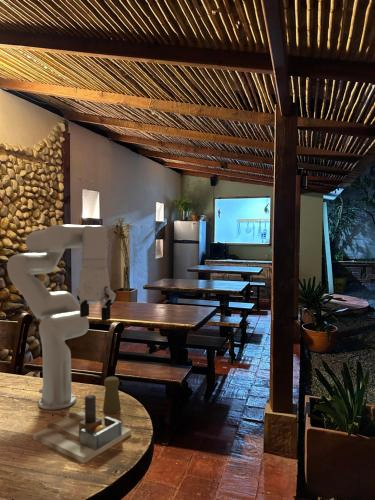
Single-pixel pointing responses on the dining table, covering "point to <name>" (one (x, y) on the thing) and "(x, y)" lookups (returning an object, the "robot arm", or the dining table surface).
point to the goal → (102, 434)
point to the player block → (90, 415)
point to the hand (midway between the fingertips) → (95, 318)
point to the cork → (111, 395)
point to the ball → (99, 428)
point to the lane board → (72, 438)
